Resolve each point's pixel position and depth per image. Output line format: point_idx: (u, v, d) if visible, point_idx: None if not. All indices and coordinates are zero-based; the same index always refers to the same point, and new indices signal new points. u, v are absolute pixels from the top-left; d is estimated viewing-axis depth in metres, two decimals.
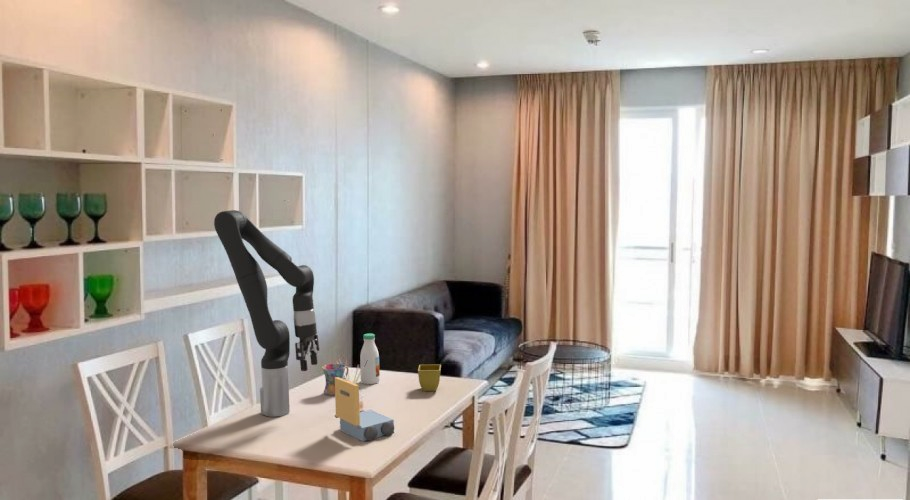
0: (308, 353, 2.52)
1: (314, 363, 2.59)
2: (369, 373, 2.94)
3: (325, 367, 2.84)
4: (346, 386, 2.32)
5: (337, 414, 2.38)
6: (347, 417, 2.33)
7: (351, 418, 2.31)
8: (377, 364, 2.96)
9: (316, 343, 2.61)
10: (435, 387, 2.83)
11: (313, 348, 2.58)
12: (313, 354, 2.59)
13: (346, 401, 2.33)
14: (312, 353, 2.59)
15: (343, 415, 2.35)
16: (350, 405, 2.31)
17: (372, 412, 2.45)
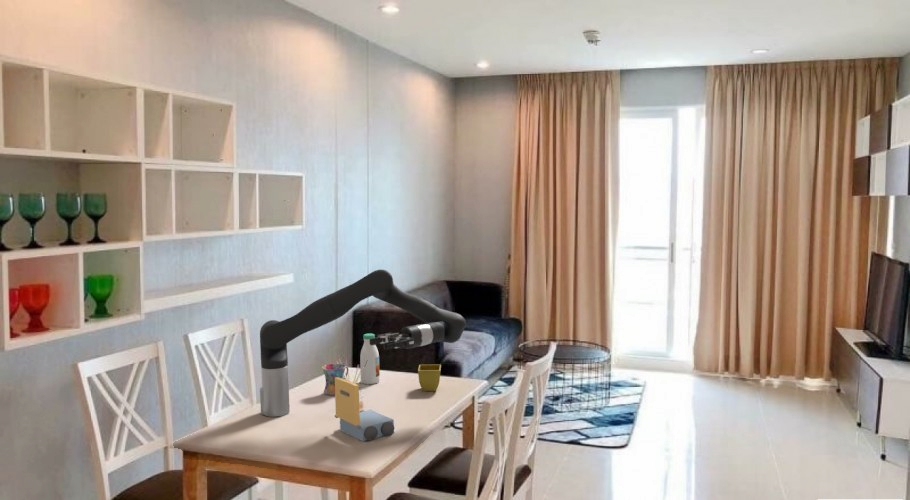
0: (397, 347, 2.41)
1: (371, 342, 2.43)
2: (369, 373, 2.94)
3: (325, 367, 2.84)
4: (346, 386, 2.32)
5: (337, 414, 2.38)
6: (347, 417, 2.33)
7: (351, 418, 2.31)
8: (377, 364, 2.96)
9: (385, 340, 2.49)
10: (435, 387, 2.83)
11: (388, 342, 2.46)
12: (379, 340, 2.45)
13: (346, 401, 2.33)
14: (380, 339, 2.45)
15: (343, 415, 2.35)
16: (350, 405, 2.31)
17: (372, 412, 2.45)
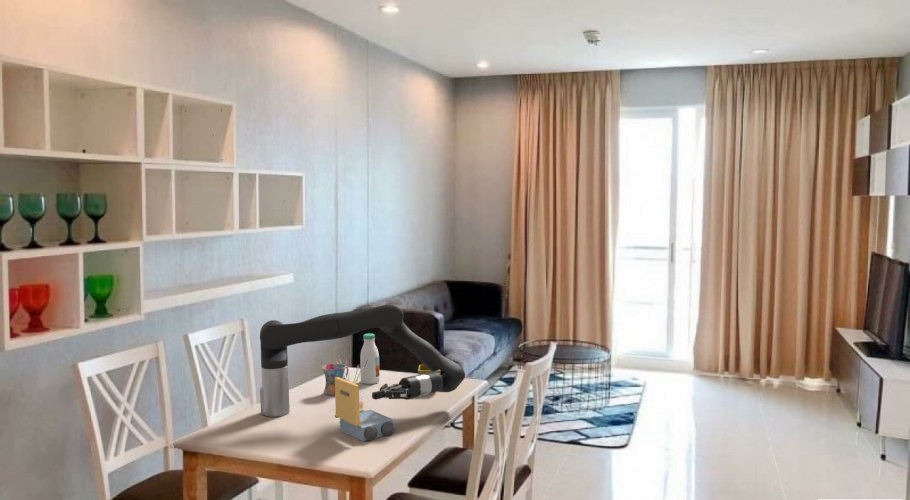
0: None
1: None
2: (369, 373, 2.94)
3: (325, 367, 2.84)
4: (346, 386, 2.32)
5: (337, 414, 2.38)
6: (347, 417, 2.33)
7: (351, 418, 2.31)
8: (377, 364, 2.96)
9: None
10: None
11: None
12: None
13: (346, 401, 2.33)
14: None
15: (343, 415, 2.35)
16: (350, 405, 2.31)
17: (372, 412, 2.45)
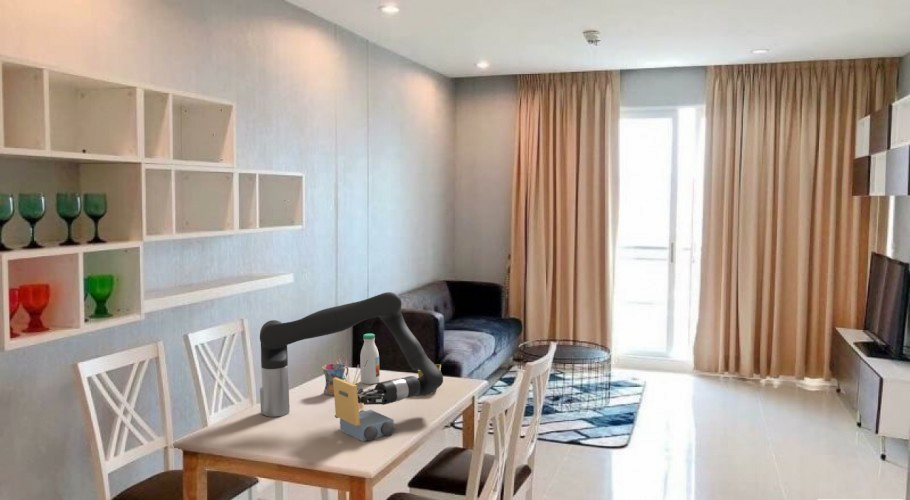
0: None
1: None
2: (369, 373, 2.94)
3: (325, 367, 2.84)
4: (344, 387, 2.32)
5: (337, 414, 2.38)
6: (347, 417, 2.33)
7: (351, 418, 2.31)
8: (377, 364, 2.96)
9: None
10: None
11: None
12: None
13: (345, 401, 2.33)
14: None
15: (343, 415, 2.35)
16: (349, 405, 2.31)
17: (372, 412, 2.45)
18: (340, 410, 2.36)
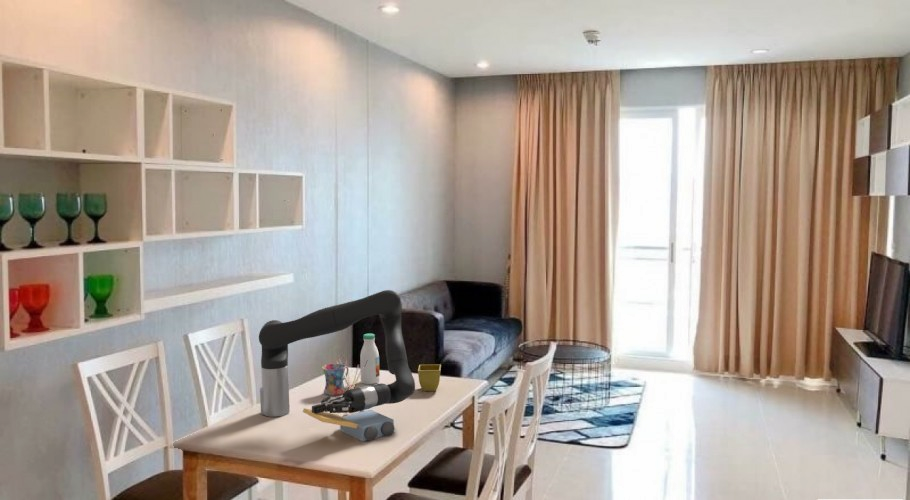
0: None
1: None
2: (369, 373, 2.94)
3: (325, 367, 2.84)
4: None
5: None
6: None
7: None
8: (377, 364, 2.96)
9: None
10: (435, 387, 2.83)
11: None
12: None
13: None
14: None
15: None
16: None
17: (372, 412, 2.45)
18: None
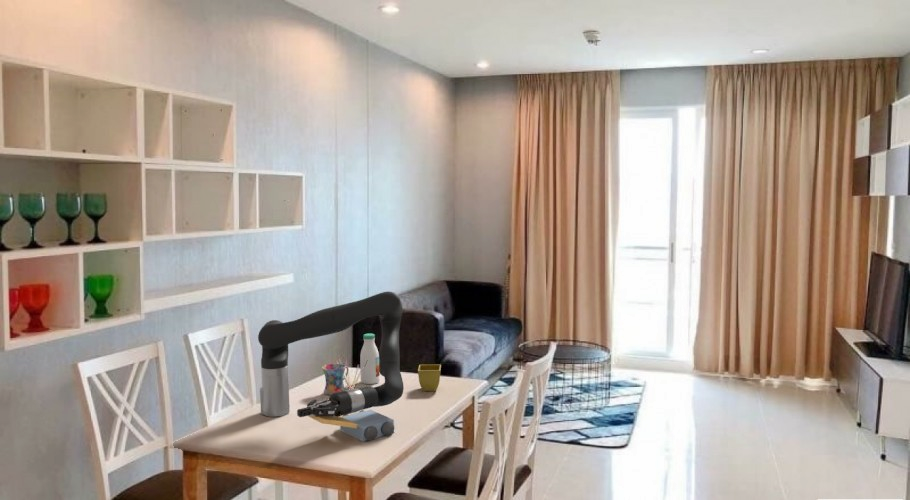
0: None
1: None
2: (369, 373, 2.94)
3: (325, 367, 2.84)
4: None
5: None
6: None
7: None
8: (377, 364, 2.96)
9: None
10: (435, 387, 2.83)
11: None
12: None
13: None
14: None
15: None
16: None
17: (372, 412, 2.45)
18: None
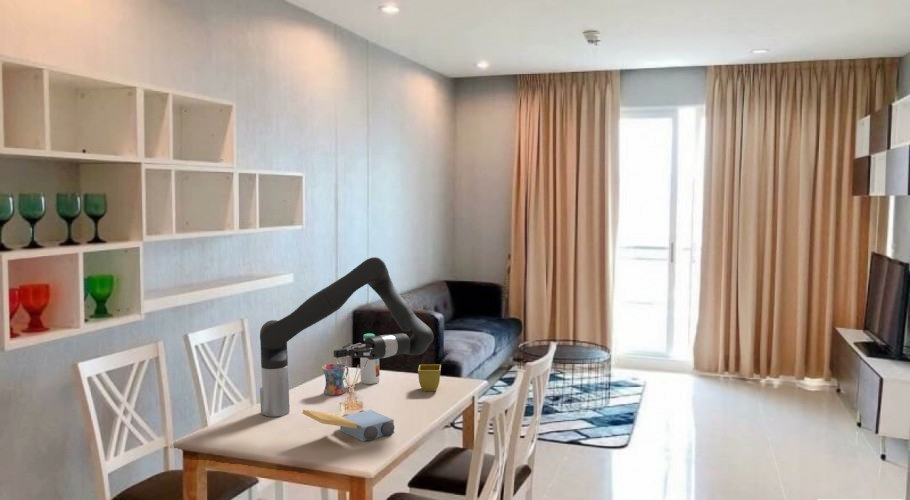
0: None
1: None
2: (369, 373, 2.94)
3: (325, 367, 2.84)
4: None
5: None
6: None
7: None
8: (377, 364, 2.96)
9: None
10: (435, 387, 2.83)
11: None
12: None
13: None
14: None
15: None
16: None
17: (372, 412, 2.45)
18: None
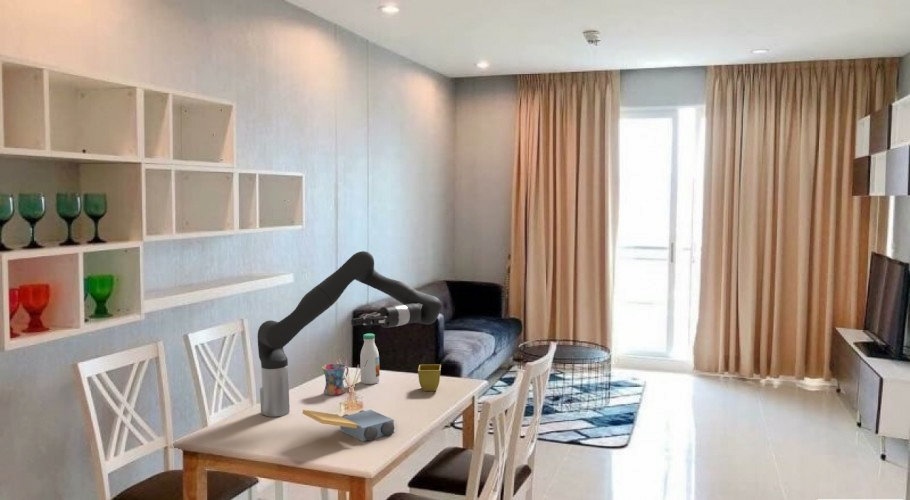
0: None
1: None
2: (369, 373, 2.94)
3: (325, 367, 2.84)
4: None
5: None
6: None
7: None
8: (377, 364, 2.96)
9: None
10: (435, 387, 2.83)
11: None
12: None
13: None
14: None
15: None
16: None
17: (372, 412, 2.45)
18: None
